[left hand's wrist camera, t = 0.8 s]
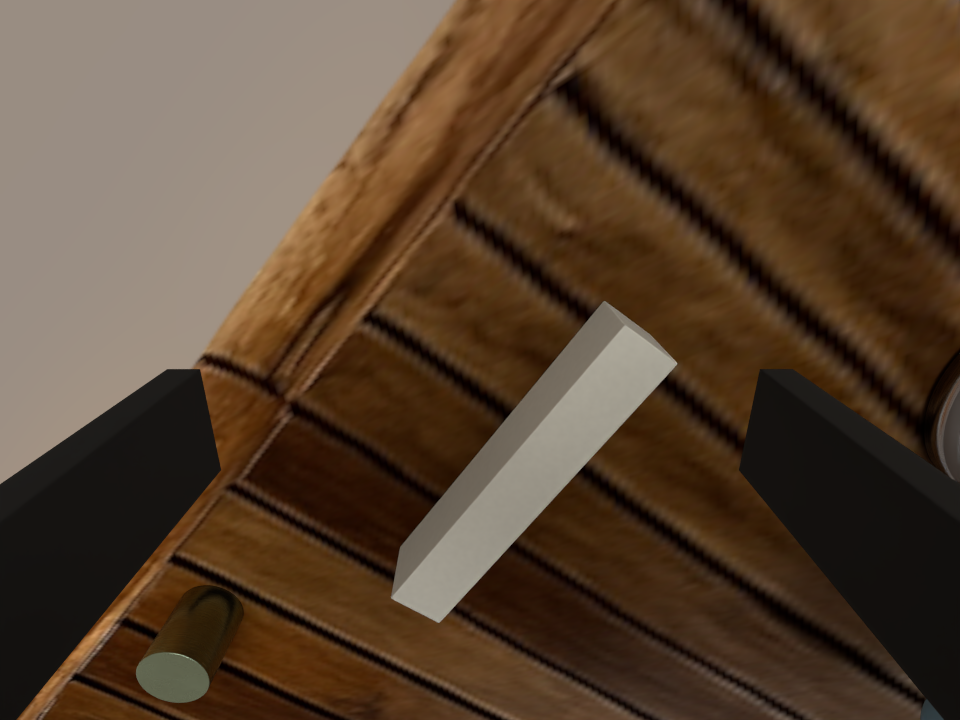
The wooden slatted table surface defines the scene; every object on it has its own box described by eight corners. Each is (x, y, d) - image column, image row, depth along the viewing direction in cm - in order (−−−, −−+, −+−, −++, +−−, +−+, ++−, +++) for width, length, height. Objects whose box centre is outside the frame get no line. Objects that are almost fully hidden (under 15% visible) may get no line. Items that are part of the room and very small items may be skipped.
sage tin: (254, 603, 42) (221, 672, 37) (226, 640, 44) (191, 712, 38) (196, 575, 41) (153, 642, 36) (170, 614, 43) (124, 684, 37)
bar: (650, 334, 34) (678, 363, 30) (442, 570, 41) (439, 623, 37) (603, 300, 33) (625, 324, 29) (399, 547, 40) (390, 598, 36)
